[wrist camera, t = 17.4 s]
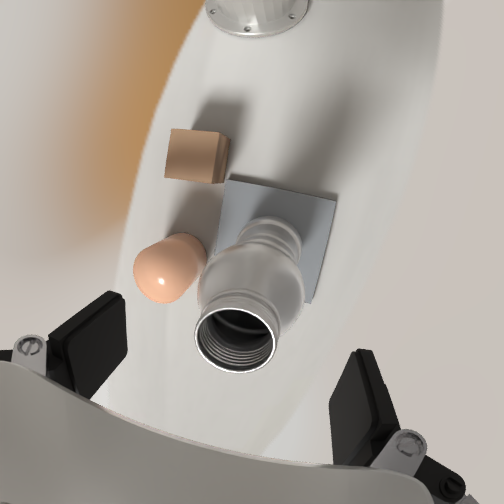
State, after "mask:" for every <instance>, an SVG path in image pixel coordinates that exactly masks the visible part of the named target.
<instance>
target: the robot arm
mask: <svg viewBox="0 0 504 504" xmlns="http://www.w3.org/2000/svg"><path fill="white" fill-rule="evenodd" d="M205 6H206V12H207V14H208V17H209V18H210V20H211V21H212V22H213V24H214V25H215V26H216V27H218V28H219V29H221V30H222V31H224V32H227V33H229V34H231V35H236V36H240V37H249V38H254V37H266V36H271V35H275V34H278V33H281V32H283V31H286V30H288V29H290V28H291V27H293V26H294V25H296V24H297V23H298V22H299V21H300V20H301V19H302V18H303V16H304V15H305V13H306V10H307V7H308V0H206V3H205ZM247 31H249V32H247ZM48 337H49V340H47V341H45V340H44V339H43V338H42V337H40V336H37V335H26V336H23V337H21V338H19V339H18V340H17V341H16V342H15V344H14V348H13V350H0V504H479V503H478V502H477V501H476V500H475V499H474V498H473V497H472V496H471V495H470V494H469V495H468V496H466V495H465V490H466V485H465V482H464V480H463V479H462V477H461V476H459V475H458V474H457V473H455V472H453V471H451V470H450V469H448V468H446V467H445V466H443V465H441V464H440V463H438V462H436V461H435V460H433V459H431V458H430V457H428V456H427V455H425V454H426V451H427V443H426V441H425V439H424V438H423V437H422V435H420V434H419V433H417V432H416V431H413V430H409V429H402V430H401V428H400V425H399V422H398V419H397V416H396V413H395V410H394V407H393V404H392V401H391V398H390V395H389V392H388V389H387V387H386V385H385V384H384V381H383V379H382V376H381V373H380V370H379V368H378V365H377V362H376V360H375V357H374V354H373V352H372V351H371V350H366V349H357V350H356V352H352V353H351V355H350V357H349V359H348V362H347V364H346V366H345V369H344V371H343V373H342V375H341V377H340V379H339V381H338V383H337V386H336V388H335V390H334V392H333V394H332V396H331V398H330V401H329V415H330V425H331V437H332V449H333V465H331V464H317V463H307V462H298V461H289V460H281V459H274V458H268V457H262V456H256V455H251V454H246V453H241V452H236V451H232V450H227V449H223V448H219V447H215V446H211V445H207V444H203V443H200V442H196V441H193V440H189V439H186V438H183V437H180V436H176V435H173V434H170V433H167V432H164V431H162V430H159V429H156V428H153V427H150V426H148V425H145V424H143V423H140V422H137V421H135V420H132V419H130V418H128V417H125V416H123V415H121V414H118V413H116V412H114V411H112V410H109V409H107V408H105V407H103V406H101V405H99V404H97V403H95V402H92V401H90V399H91V397H92V396H93V395H94V394H95V393H96V391H97V390H98V389H99V388H100V386H101V385H102V384H103V383H104V382H105V381H106V379H107V378H108V377H109V376H110V375H111V373H112V372H113V371H114V370H115V369H116V367H117V366H118V365H119V364H120V363H121V362H122V360H123V359H124V358H125V357H126V355H127V351H128V348H127V333H126V312H125V300H124V299H123V298H122V295H121V294H119V293H116V292H113V291H107V292H105V293H104V294H103V295H101V296H100V297H99V298H97V299H96V300H94V301H93V302H92V303H90V304H89V305H88V306H86V307H85V308H83V309H82V310H81V311H79V312H78V313H76V314H75V315H74V316H72V317H71V318H70V319H69V320H67V321H66V322H65V323H63V324H62V325H60V326H59V327H58V328H57V329H55V330H54V331H53V332H51V333H50V334H49V335H48Z"/></svg>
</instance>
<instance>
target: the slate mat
mask: <svg viewBox="0 0 504 504" xmlns="http://www.w3.org/2000/svg"><path fill="white" fill-rule="evenodd" d="M335 205H336V201H333V200H329V199H325V198H320V197H316V196H311V195H307V194H302V193H297V192H292V191H288V190H283V189H278V188H273V187H267V186H262V185H257V184H251V183H246V182H240V181H234V180H228V179H226V185H225V190H224V196H223V202H222V209H221V215H220V221H219V227H218V234H217V240H216V247H215V254H214V256H216V255H217V254H218V253H219V252H221V251H222V250H224V249H226V248H228V247H230V246H232V245H235V244H236V241H237V237H238V235H239V233H240V231H241V230H242V228H243V227H244V226H245V225H246V224H247V223H249V222H250V221H252V220H254V219H256V218H259V217H262V216H275V217H279V218H282V219H284V220H286V221H288V222H289V223H290V224H292V225H293V226H294V227H295V229H296V230H297V231H298V233H299V235H300V237H301V241H302V254H301V257H300V260H299V262H298V264H297V267H298V269H299V271H300V272H301V275H302V279H303V282H304V286H305V302H304V303H309V304H311V302H312V298H313V295H314V291H315V287H316V284H317V280H318V276H319V272H320V269H321V265H322V261H323V257H324V253H325V249H326V245H327V241H328V236H329V232H330V228H331V224H332V219H333V215H334V210H335Z"/></svg>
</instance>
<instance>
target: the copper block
mask: <svg viewBox="0 0 504 504" xmlns="http://www.w3.org/2000/svg"><path fill="white" fill-rule="evenodd" d="M229 145H230V139H229V138H228V137H226V136H224V135H223V134H221V133H220V132H210V131H198V130H185V129H171V135H170V141H169V147H168V154H167V160H166V167H165V175H164V177H165V178H173V179H181V180H188V181H196V182H203V183H210V184H214V183H223V182H224V176H225V169H226V163H227V157H228V151H229Z"/></svg>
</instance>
